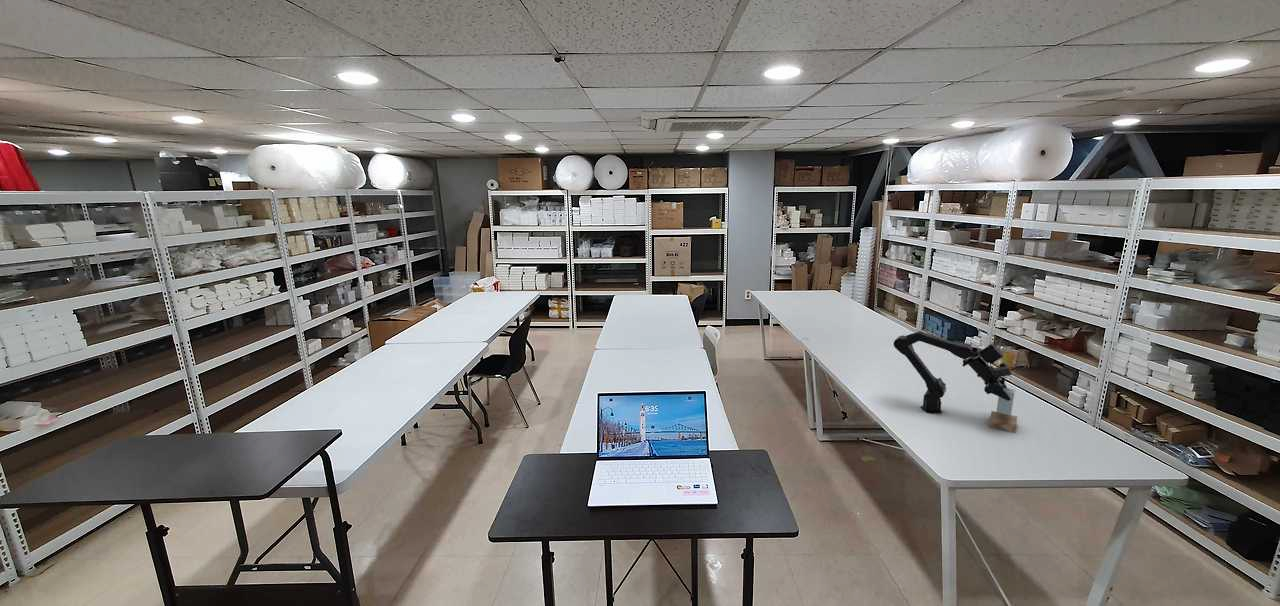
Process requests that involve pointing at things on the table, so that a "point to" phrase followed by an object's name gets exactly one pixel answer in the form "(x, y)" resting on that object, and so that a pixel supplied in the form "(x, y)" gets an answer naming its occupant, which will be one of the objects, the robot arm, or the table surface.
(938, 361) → the table surface
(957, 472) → the table surface
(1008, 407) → the slate block
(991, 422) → the tan flat square block
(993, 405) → the table surface
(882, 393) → the table surface
